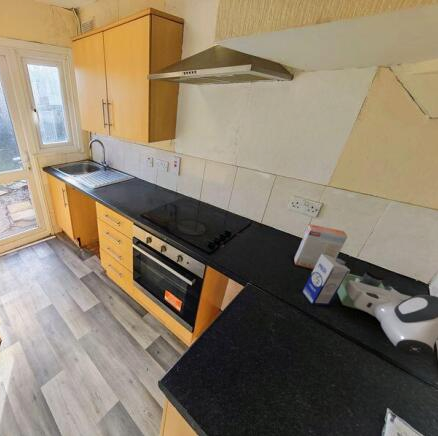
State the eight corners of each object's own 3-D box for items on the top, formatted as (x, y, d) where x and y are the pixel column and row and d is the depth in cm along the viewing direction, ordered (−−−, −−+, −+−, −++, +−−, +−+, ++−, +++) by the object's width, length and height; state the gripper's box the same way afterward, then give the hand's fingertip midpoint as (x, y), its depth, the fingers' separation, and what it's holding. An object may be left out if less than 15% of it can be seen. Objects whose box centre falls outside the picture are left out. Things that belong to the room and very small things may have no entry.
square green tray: (375, 289, 99) (381, 282, 97) (395, 320, 85) (402, 312, 83) (331, 277, 105) (335, 270, 103) (342, 304, 90) (347, 296, 88)
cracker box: (325, 267, 112) (344, 230, 102) (328, 274, 107) (348, 237, 97) (293, 258, 117) (308, 223, 107) (294, 265, 112) (311, 228, 102)
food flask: (366, 293, 96) (381, 271, 90) (371, 302, 91) (388, 279, 86) (351, 288, 97) (365, 267, 92) (355, 297, 93) (370, 275, 87)
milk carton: (301, 291, 96) (321, 253, 87) (317, 292, 96) (338, 254, 87) (312, 304, 90) (334, 265, 80) (329, 305, 90) (353, 266, 80)
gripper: (435, 314, 73) (411, 286, 84) (357, 292, 80) (345, 269, 91) (423, 326, 76) (401, 298, 87) (349, 304, 83) (338, 281, 94)
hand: (372, 283), depth 89 cm, fingers open, 8 cm apart
